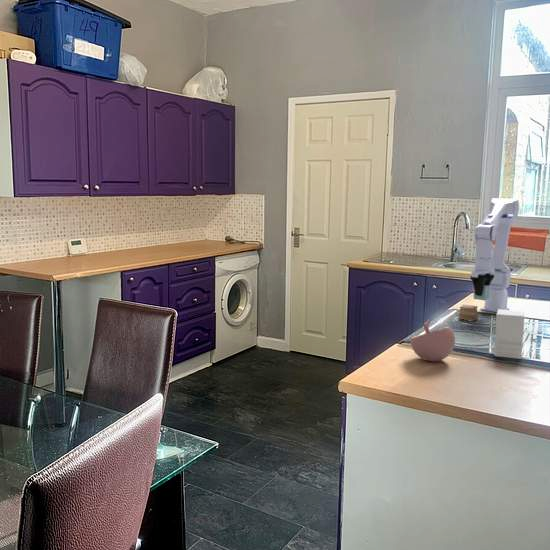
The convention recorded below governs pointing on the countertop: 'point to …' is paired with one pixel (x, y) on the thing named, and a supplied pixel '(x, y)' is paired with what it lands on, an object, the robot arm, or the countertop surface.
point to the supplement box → (509, 333)
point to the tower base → (468, 316)
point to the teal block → (485, 293)
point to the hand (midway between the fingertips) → (481, 294)
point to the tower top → (468, 309)
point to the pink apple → (433, 343)
